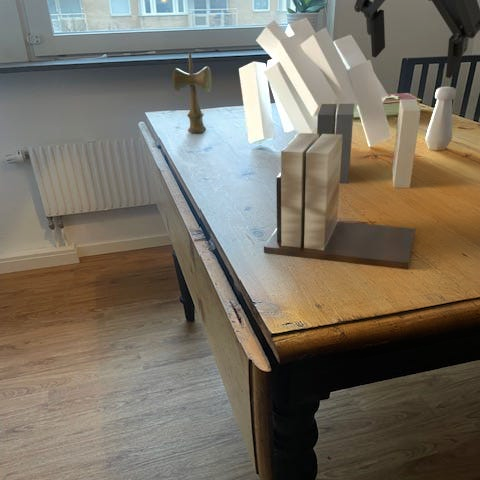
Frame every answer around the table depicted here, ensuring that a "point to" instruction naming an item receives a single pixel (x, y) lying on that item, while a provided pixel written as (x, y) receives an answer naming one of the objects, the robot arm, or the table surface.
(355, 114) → the hardcover book
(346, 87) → the pile of blocks
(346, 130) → the grey books
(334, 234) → the book board
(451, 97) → the salt shaker
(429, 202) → the table surface
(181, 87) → the kendama
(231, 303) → the table surface
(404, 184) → the white book
